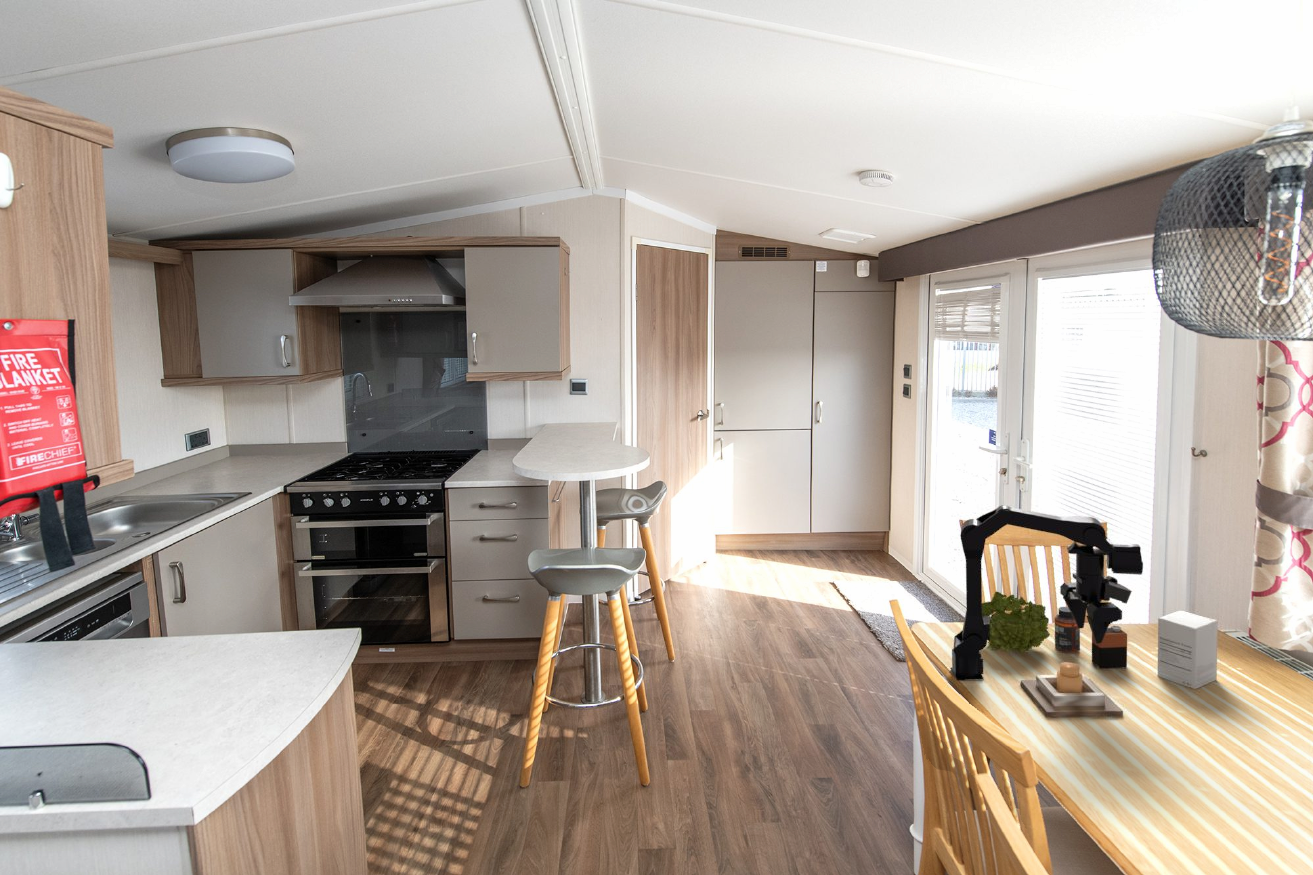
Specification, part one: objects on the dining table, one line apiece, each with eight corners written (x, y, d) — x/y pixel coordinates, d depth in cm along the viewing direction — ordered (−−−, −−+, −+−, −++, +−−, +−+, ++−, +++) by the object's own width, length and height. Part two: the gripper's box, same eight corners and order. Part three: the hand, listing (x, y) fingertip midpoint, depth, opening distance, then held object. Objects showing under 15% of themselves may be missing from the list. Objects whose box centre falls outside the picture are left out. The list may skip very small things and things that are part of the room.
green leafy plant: (1031, 616, 217) (1062, 594, 204) (1031, 668, 209) (1063, 649, 195) (968, 597, 219) (995, 574, 205) (966, 649, 210) (993, 628, 197)
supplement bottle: (1079, 646, 207) (1079, 606, 205) (1080, 655, 201) (1081, 613, 200) (1054, 644, 209) (1054, 604, 208) (1055, 652, 204) (1055, 611, 202)
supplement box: (1178, 667, 191) (1179, 609, 189) (1217, 680, 183) (1219, 620, 181) (1155, 675, 188) (1156, 616, 186) (1194, 690, 180) (1196, 628, 178)
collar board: (1047, 717, 172) (1047, 701, 171) (1020, 684, 188) (1020, 670, 187) (1122, 716, 170) (1123, 700, 170) (1089, 683, 186) (1089, 669, 185)
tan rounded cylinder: (1062, 700, 176) (1062, 671, 175) (1053, 689, 182) (1053, 661, 181) (1086, 699, 176) (1086, 670, 175) (1076, 689, 181) (1076, 661, 180)
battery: (1127, 668, 193) (1128, 630, 191) (1100, 669, 193) (1100, 631, 191) (1117, 660, 197) (1118, 623, 196) (1090, 662, 197) (1091, 624, 196)
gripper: (1147, 583, 170) (1146, 650, 172) (1107, 558, 189) (1106, 619, 191) (1094, 585, 171) (1094, 651, 173) (1059, 560, 190) (1059, 621, 192)
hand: (1089, 635), depth 182 cm, fingers open, 9 cm apart
